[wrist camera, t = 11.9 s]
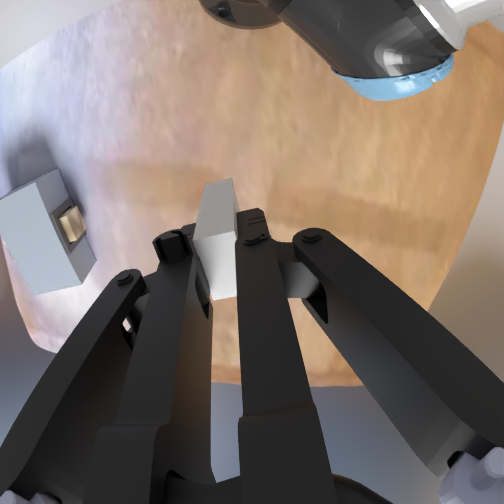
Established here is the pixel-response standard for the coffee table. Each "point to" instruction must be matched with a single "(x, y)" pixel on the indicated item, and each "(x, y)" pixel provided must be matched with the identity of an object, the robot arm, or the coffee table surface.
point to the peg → (70, 224)
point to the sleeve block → (43, 235)
